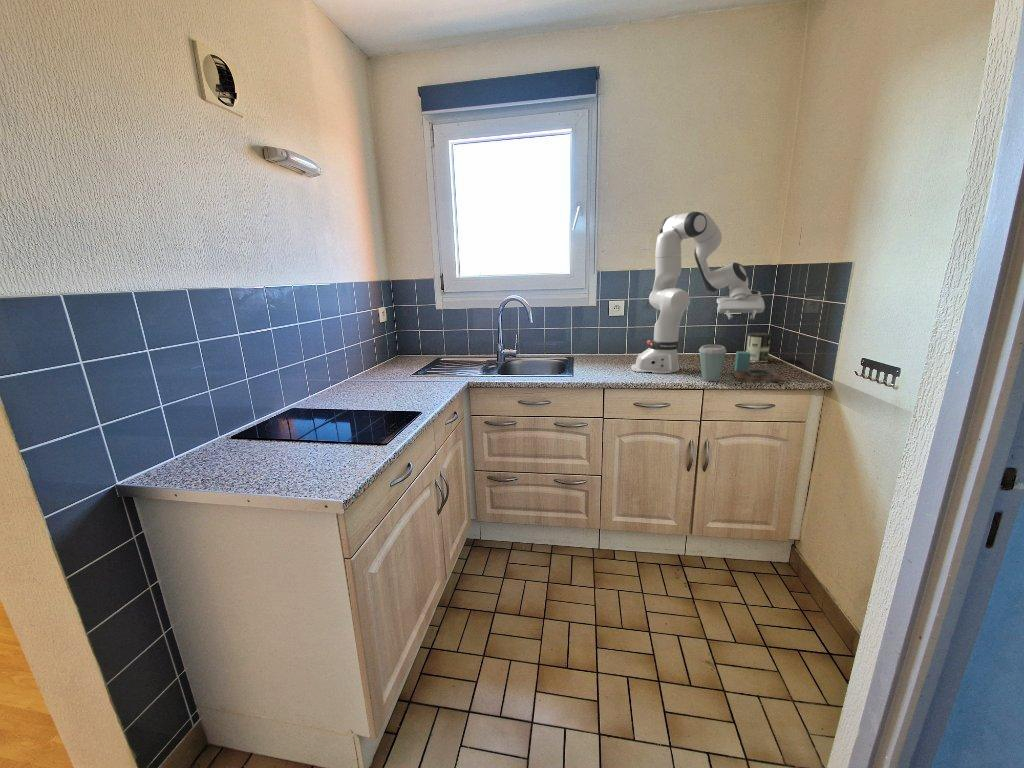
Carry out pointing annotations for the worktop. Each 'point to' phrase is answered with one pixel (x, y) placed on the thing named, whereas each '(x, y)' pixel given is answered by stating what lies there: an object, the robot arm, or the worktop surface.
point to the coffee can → (758, 346)
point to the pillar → (742, 361)
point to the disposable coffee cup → (712, 361)
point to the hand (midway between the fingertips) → (741, 318)
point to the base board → (758, 375)
